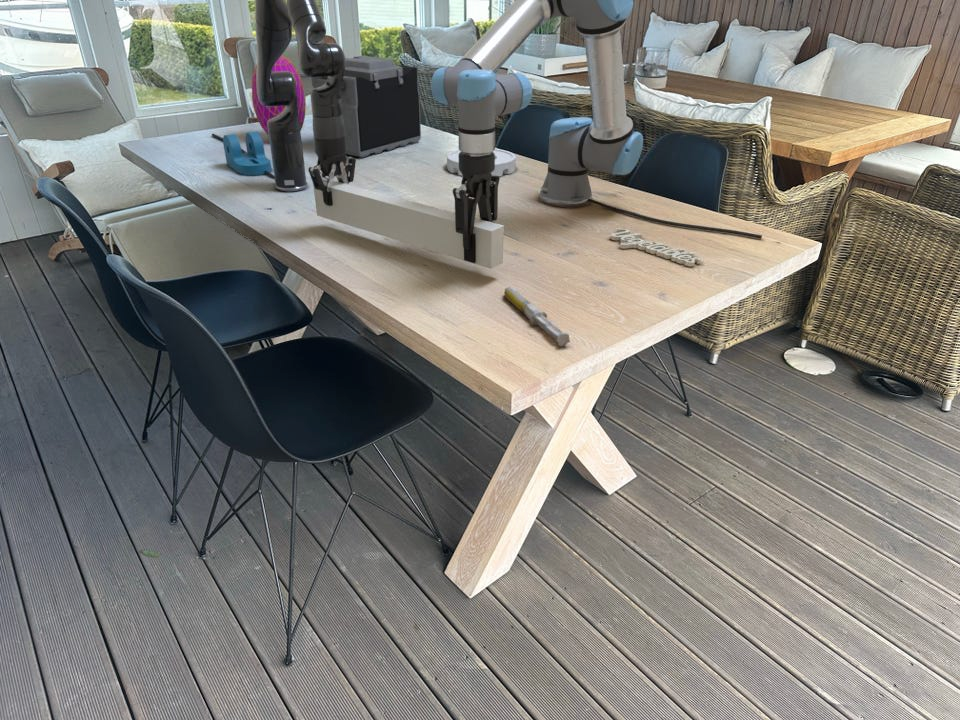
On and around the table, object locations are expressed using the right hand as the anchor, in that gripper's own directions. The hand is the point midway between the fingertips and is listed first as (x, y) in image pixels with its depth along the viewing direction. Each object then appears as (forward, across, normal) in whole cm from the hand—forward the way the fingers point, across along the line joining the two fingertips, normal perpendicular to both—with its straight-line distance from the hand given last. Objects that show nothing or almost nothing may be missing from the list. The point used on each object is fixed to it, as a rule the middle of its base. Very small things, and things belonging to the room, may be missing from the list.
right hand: (477, 257), depth 153 cm
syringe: (+4, +11, +23) cm, 25 cm away
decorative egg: (+5, -56, -136) cm, 148 cm away
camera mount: (+5, -23, -112) cm, 115 cm away
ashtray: (+6, -72, -53) cm, 90 cm away
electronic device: (+6, -71, -104) cm, 126 cm away
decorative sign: (+5, -38, +24) cm, 46 cm away
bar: (+1, 0, -22) cm, 23 cm away
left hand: (-4, 0, -45) cm, 45 cm away
